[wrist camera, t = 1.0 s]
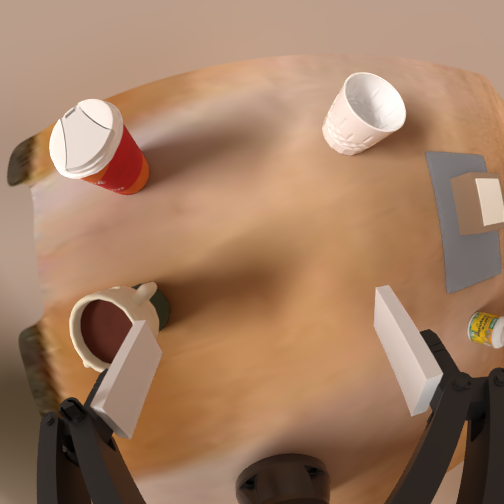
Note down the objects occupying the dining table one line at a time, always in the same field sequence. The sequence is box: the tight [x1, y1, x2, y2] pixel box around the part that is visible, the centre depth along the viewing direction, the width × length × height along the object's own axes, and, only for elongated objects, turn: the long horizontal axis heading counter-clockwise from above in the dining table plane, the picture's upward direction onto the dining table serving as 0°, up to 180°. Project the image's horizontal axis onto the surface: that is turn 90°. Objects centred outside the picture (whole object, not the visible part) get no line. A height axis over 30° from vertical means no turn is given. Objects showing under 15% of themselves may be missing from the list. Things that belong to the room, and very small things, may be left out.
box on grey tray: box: [425, 152, 504, 293], centre depth 33 cm, size 22×16×6 cm
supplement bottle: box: [467, 312, 504, 348], centre depth 31 cm, size 5×5×10 cm
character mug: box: [69, 282, 170, 372], centre depth 26 cm, size 11×7×13 cm, turn 138°
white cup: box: [322, 72, 406, 156], centre depth 30 cm, size 8×8×10 cm
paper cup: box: [50, 99, 150, 195], centre depth 26 cm, size 8×8×14 cm
